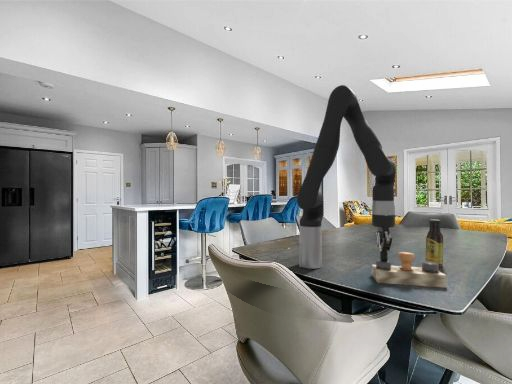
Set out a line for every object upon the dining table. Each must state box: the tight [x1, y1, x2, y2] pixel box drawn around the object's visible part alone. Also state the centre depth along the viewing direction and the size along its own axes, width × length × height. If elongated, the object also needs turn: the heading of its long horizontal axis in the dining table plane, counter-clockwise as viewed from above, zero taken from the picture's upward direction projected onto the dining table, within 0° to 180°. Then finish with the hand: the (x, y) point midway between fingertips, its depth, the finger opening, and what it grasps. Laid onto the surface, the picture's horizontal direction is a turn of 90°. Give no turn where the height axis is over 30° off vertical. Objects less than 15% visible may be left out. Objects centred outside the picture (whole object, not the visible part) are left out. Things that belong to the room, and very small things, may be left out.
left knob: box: [375, 259, 392, 270], centre depth 93 cm, size 5×5×6 cm
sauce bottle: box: [425, 219, 444, 268], centre depth 111 cm, size 6×6×20 cm
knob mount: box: [371, 264, 447, 289], centre depth 91 cm, size 21×9×4 cm, turn 77°
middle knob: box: [398, 251, 415, 271], centre depth 92 cm, size 5×5×6 cm
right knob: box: [421, 261, 440, 273], centre depth 90 cm, size 5×5×6 cm
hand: (383, 261), depth 93 cm, fingers closed
